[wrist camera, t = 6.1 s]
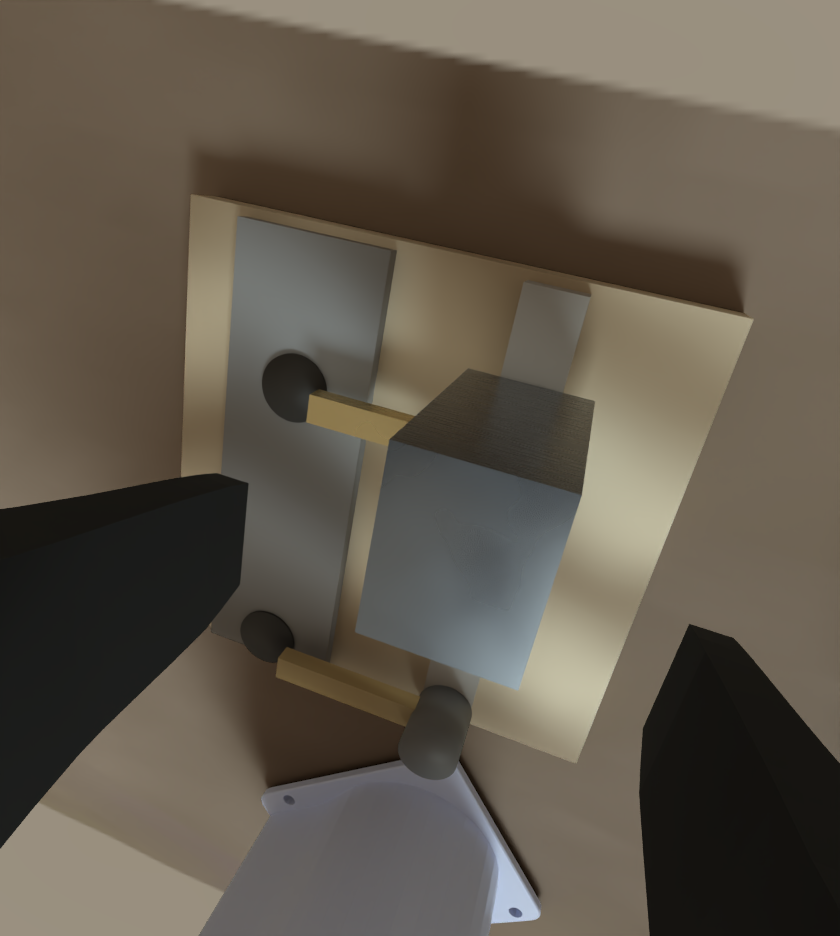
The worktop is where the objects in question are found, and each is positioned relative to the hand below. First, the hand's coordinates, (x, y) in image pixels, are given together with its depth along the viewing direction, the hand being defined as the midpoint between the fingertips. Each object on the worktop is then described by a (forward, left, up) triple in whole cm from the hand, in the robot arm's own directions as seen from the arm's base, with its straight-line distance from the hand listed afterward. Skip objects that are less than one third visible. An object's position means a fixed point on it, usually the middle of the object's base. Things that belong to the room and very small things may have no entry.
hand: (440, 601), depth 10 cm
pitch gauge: (-4, 0, -9) cm, 10 cm away
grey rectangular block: (-1, +1, -7) cm, 7 cm away
